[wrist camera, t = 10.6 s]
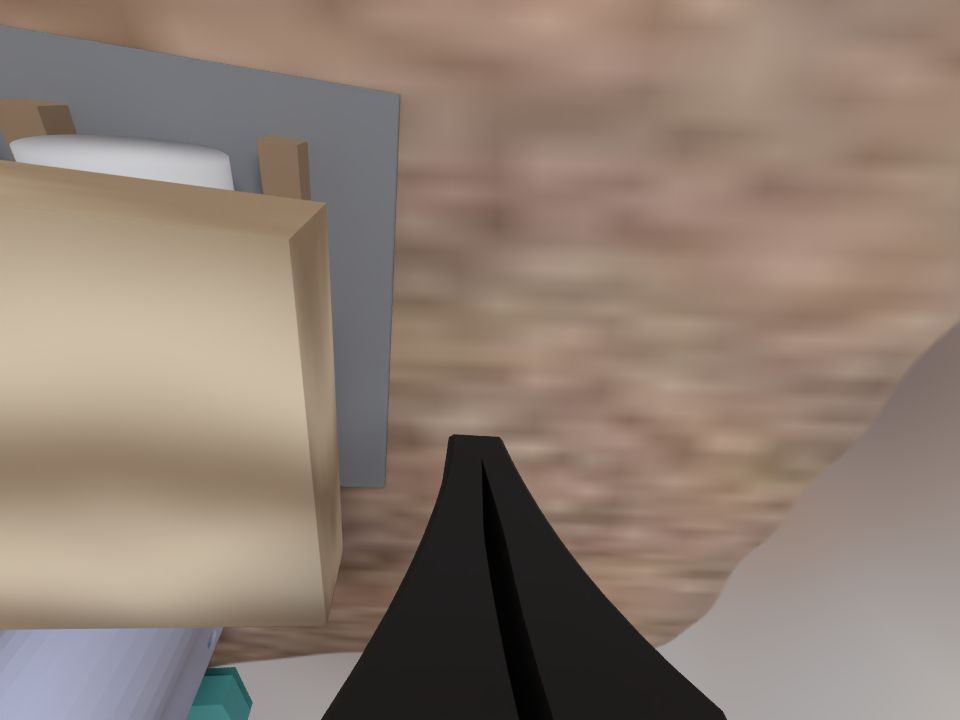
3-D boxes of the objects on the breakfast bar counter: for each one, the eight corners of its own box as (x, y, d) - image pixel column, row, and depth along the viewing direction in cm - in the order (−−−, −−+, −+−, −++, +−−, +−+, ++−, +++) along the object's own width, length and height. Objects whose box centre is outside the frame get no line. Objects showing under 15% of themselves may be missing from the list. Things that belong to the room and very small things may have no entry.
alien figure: (17, 747, 35) (266, 731, 37) (-7, 784, 33) (257, 764, 36) (-153, 633, 24) (213, 621, 27) (-202, 678, 22) (196, 661, 25)
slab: (343, 550, 15) (326, 625, 13) (-51, 544, 13) (-145, 631, 11) (326, 202, 8) (289, 239, 6) (-446, 100, 7) (-848, 105, 5)
